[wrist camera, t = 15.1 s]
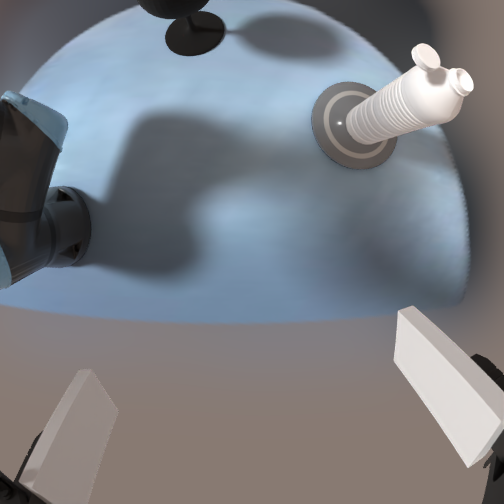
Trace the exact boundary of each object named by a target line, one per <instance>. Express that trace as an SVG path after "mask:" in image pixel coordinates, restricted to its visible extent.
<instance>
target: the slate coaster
mask: <svg viewBox="0 0 504 504" xmlns="http://www.w3.org/2000/svg"><path fill="white" fill-rule="evenodd" d="M374 93H376V91H375V90H373V89H372V88H370V87H368V86H366V85H363V84H360V83H356V82H341V83H337V84H334V85H332V86H330V87H329V88H327V89H326V90H325V91H324V92H323V93H322V94H321V95H320V96H319V97H318V99H317V101H316V102H315V104H314V107H313V110H312V117H311V122H312V130H313V133H314V136H315V138H316V141H317V143H318V144H319V146H320V147H321V149H322V150H323V151H324V153H325V154H326V155H327V156H328V157H330V158H331V159H332V160H333V161H335V162H336V163H338V164H340V165H342V166H345V167H347V168H351V169H369V168H373V167H376V166H378V165H380V164H382V163H383V162H384V161H386V160H387V159H388V158H389V156H390V155H391V154H392V152H393V150H394V148H395V145H396V141H397V136H395V137H393V138H389V139H386V140H383V141H380V142H377V143H374V144H369V145H365V144H362V143H359V142H357V141H355V140H354V139H353V138H352V136H351V135H350V134H349V132H348V130H347V127H346V117H347V115H348V113H349V112H350V110H352V109H353V108H354V107H356V106H357V105H359V104H360V103H362V102H363V101H364V100H366V99H367V98H369V97H370V96H372V95H373V94H374Z"/></svg>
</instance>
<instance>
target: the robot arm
mask: <svg viewBox="0 0 504 504" xmlns="http://www.w3.org/2000/svg"><path fill="white" fill-rule="evenodd" d="M67 130H68V122H67V119H66V118H65V117H64V116H63V115H62V114H60V113H59V112H57V111H55V110H53V109H51V108H49V107H48V106H46V105H43V104H41V103H39V102H37V101H35V100H33V99H29V98H28V97H25V96H23V95H21V94H19V93H15V92H13V91H6V92H5V94H4V95H3V96H2V97H1V101H0V290H1V289H3V288H8V287H9V286H11V285H13V284H14V283H16V282H18V281H20V280H21V279H23V278H25V277H27V276H29V275H30V274H32V273H34V272H36V271H38V270H40V269H42V268H44V267H52V268H63V267H67V266H70V265H71V264H73V263H75V262H77V261H78V260H80V259H81V258H82V256H83V255H84V254H85V252H86V250H87V248H88V245H89V242H90V236H91V222H90V217H89V213H88V210H87V207H86V205H85V203H84V201H83V200H82V198H81V197H80V196H79V195H78V194H77V193H76V192H75V191H74V190H72V189H70V188H68V187H64V186H57V187H50V188H49V185H50V182H51V178H52V175H53V172H54V168H55V165H56V162H57V159H58V156H59V153H61V152H62V145H63V142H64V139H65V136H66V133H67ZM394 362H395V363H396V365H397V366H398V367H399V369H400V370H401V371H402V373H403V374H404V376H405V377H406V378H407V380H408V381H409V382H410V384H411V385H412V386H413V388H414V389H415V391H416V392H417V393H418V395H419V396H420V398H421V399H422V400H423V402H424V403H425V405H426V406H427V408H428V409H429V410H430V412H431V413H432V415H433V416H434V418H435V419H436V421H437V422H438V423H439V425H440V426H441V428H442V429H443V431H444V432H445V434H446V435H447V437H448V438H449V440H450V441H451V443H452V444H453V446H454V447H455V449H456V450H457V452H458V453H459V455H460V456H461V458H462V460H463V461H464V463H465V464H466V466H467V468H468V467H470V466H471V465H473V464H474V463H476V462H477V461H479V460H480V459H481V458H482V457H484V456H485V455H486V453H487V452H488V451H489V449H490V448H492V450H493V451H494V452H493V454H492V455H491V456H490V457H489V458H488V460H487V461H486V462H485V464H484V467H483V468H486V467H487V466H488V464H489V463H490V462H491V464H490V470H489V475H488V481H487V486H486V490H485V494H484V498H483V502H482V504H504V375H503V373H502V372H501V371H500V370H499V369H497V368H496V366H495V365H494V364H493V363H491V361H490V360H488V359H487V358H485V357H483V356H481V355H478V354H475V355H473V356H472V357H469V356H468V355H467V354H466V353H465V352H463V350H461V349H460V348H459V347H458V346H457V345H456V344H455V343H454V342H453V341H452V340H451V339H450V338H449V337H448V336H447V335H446V334H444V333H443V332H442V331H441V330H440V329H439V328H438V327H437V326H435V324H433V323H432V322H431V321H430V320H429V319H428V318H427V317H426V316H424V315H423V314H422V313H421V312H420V311H419V310H418V309H417V308H415V307H414V306H410V307H407V308H404V309H401V310H399V311H398V321H397V335H396V345H395V354H394ZM118 412H119V411H118V409H117V408H116V406H115V405H114V403H113V402H112V400H111V399H110V397H109V396H108V394H107V393H106V391H105V390H104V389H103V387H102V385H101V383H100V382H99V380H98V379H97V377H96V375H95V374H94V372H93V370H92V369H81V370H79V371H78V372H77V374H76V376H75V377H74V379H73V381H72V382H71V384H70V386H69V387H68V389H67V391H66V392H65V394H64V396H63V397H62V399H61V401H60V402H59V404H58V406H57V407H56V409H55V411H54V413H53V415H52V416H51V418H50V420H49V422H48V423H47V425H46V427H45V429H44V430H43V431H42V432H41V433H40V434H39V435H38V436H37V437H36V438H35V440H34V442H33V444H32V446H31V449H29V451H28V455H26V457H25V459H24V462H23V464H22V466H21V468H20V470H19V472H18V474H17V476H16V478H15V480H14V482H12V481H11V480H10V479H9V478H8V477H7V476H5V475H4V474H3V473H2V472H1V471H0V504H88V501H89V497H90V494H91V491H92V487H93V484H94V481H95V477H96V475H97V471H98V468H99V465H100V462H101V459H102V456H103V453H104V450H105V447H106V445H107V441H108V438H109V436H110V433H111V431H112V427H113V425H114V422H115V419H116V417H117V414H118Z"/></svg>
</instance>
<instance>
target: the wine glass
mask: <svg viewBox="0 0 504 504" xmlns="http://www.w3.org/2000/svg"><path fill="white" fill-rule="evenodd" d="M137 1H138V3H139V4H140V6H141V7H142V8H143V9H144V10H146V11H147V12H148V13H150V14H152V15H153V16H156V17H159V18H164V19H176V20H175V21H173V22H172V24H171V25H170V26H169V28H168V29H167V31H166V35H165V41H166V44H167V46H168V47H169V49H170V50H171V51H173V52H174V53H176V54H179V55H183V56H194V55H199V54H202V53H205V52H207V51H209V50H211V49H212V48H214V47H215V46H216V45H217V44H218V43H219V42H220V40H221V39H222V37H223V34H224V26H223V23H222V21H221V20H220V18H219V17H217V16H216V15H214V14H212V13H210V12H205V11H199V10H200V9H202V8H203V7H204V6H205V5H206V4H207V3H208V1H209V0H137Z"/></svg>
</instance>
